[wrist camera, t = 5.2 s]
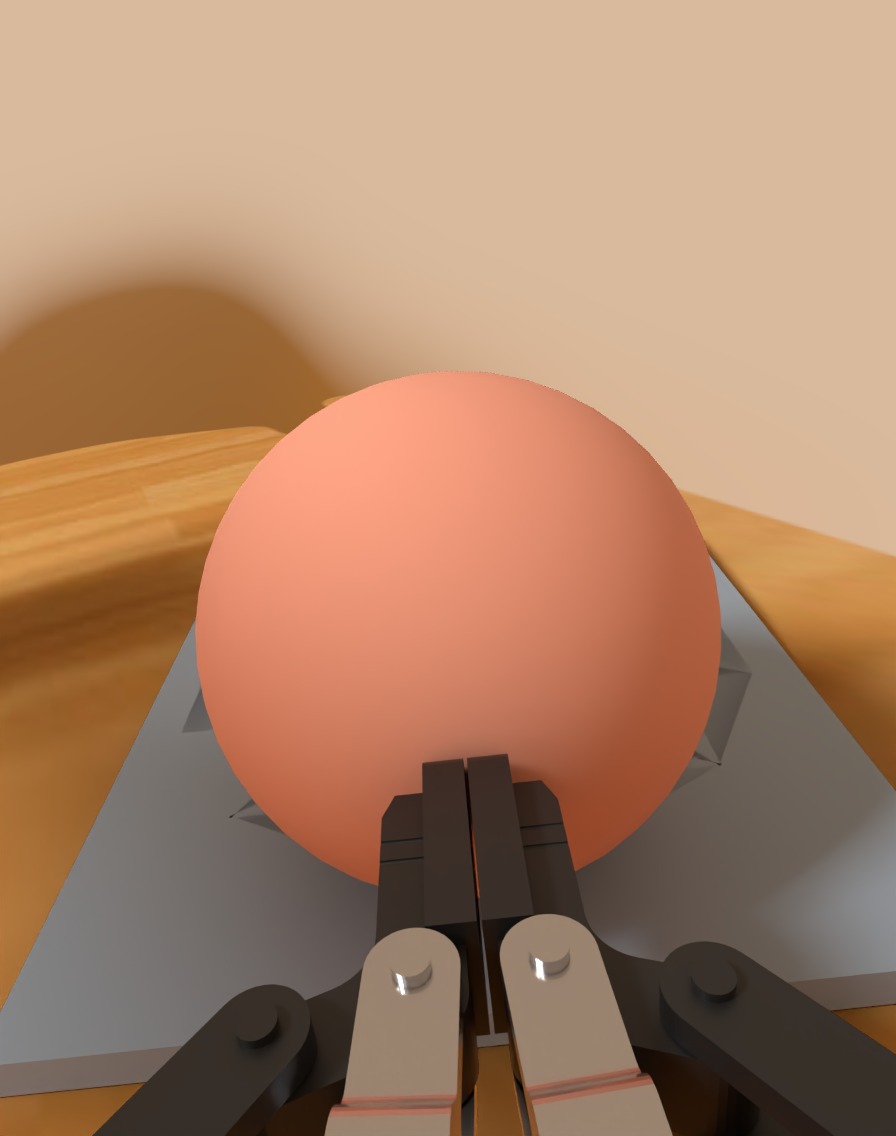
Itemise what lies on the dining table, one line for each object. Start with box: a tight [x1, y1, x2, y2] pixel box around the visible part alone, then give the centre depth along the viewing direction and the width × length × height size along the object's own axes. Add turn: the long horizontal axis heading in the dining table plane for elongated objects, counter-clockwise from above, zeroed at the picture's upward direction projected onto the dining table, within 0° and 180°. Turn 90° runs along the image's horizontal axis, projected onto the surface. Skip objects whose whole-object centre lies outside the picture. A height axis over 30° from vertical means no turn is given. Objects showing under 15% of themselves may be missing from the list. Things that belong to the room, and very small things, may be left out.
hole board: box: [0, 556, 896, 1097], centre depth 29 cm, size 24×22×1 cm
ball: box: [195, 371, 721, 898], centre depth 20 cm, size 12×12×12 cm
